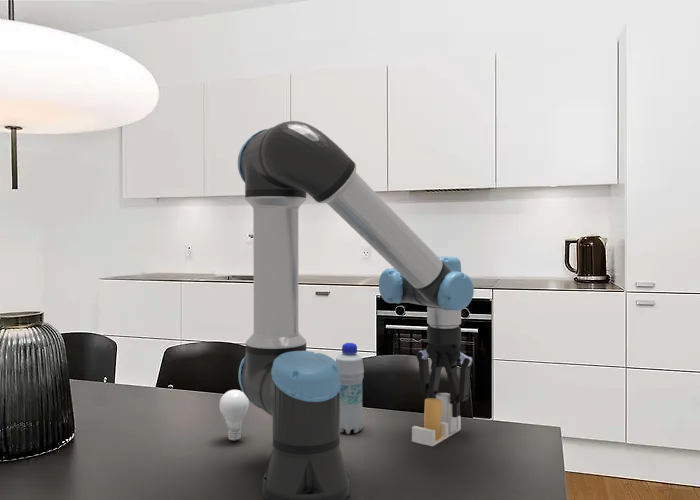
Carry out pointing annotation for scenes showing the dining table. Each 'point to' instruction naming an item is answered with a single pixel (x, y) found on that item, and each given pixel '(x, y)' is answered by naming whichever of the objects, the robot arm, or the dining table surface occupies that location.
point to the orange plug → (433, 415)
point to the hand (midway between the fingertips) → (444, 428)
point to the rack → (433, 433)
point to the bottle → (350, 388)
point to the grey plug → (444, 405)
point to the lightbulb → (234, 411)
